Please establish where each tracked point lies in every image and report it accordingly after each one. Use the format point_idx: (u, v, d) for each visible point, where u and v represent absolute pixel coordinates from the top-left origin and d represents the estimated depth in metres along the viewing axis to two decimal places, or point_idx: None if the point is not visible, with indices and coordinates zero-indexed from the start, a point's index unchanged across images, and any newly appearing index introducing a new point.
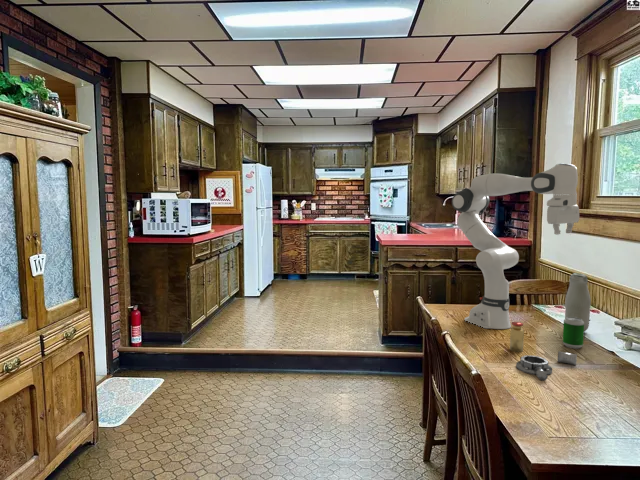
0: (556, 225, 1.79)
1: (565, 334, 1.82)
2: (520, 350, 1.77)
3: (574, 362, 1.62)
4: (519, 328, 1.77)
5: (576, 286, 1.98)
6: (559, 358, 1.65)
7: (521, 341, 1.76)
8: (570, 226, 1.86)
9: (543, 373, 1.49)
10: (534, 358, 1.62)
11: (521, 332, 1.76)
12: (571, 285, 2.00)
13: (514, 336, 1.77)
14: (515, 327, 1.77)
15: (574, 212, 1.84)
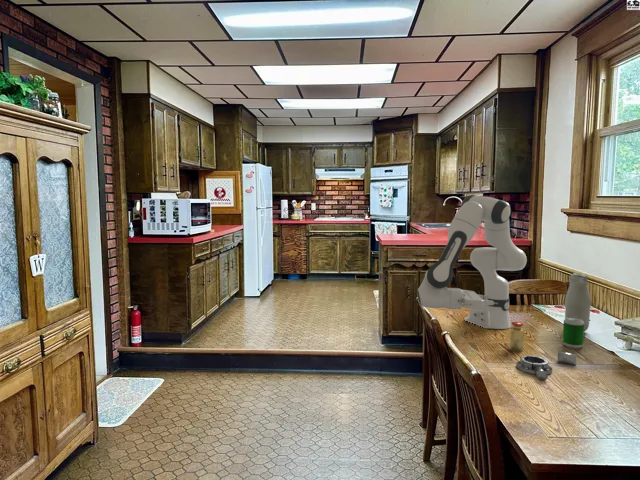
0: None
1: (565, 334, 1.82)
2: (520, 350, 1.77)
3: (574, 362, 1.62)
4: (519, 328, 1.77)
5: (576, 286, 1.98)
6: (559, 358, 1.65)
7: (521, 341, 1.76)
8: None
9: (543, 373, 1.49)
10: (534, 358, 1.62)
11: (521, 332, 1.76)
12: (571, 285, 2.00)
13: (514, 336, 1.77)
14: (515, 327, 1.77)
15: None
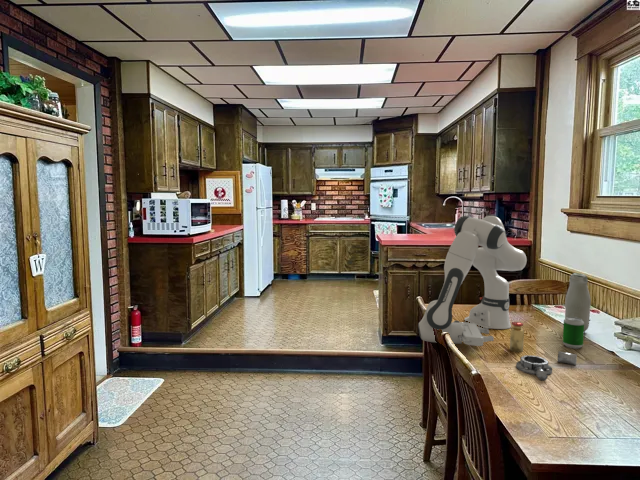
0: None
1: (565, 334, 1.82)
2: (520, 350, 1.77)
3: (574, 362, 1.62)
4: (519, 328, 1.77)
5: (576, 286, 1.98)
6: (559, 358, 1.65)
7: (521, 341, 1.76)
8: None
9: (543, 373, 1.49)
10: (534, 358, 1.62)
11: (521, 332, 1.76)
12: (571, 285, 2.00)
13: (514, 336, 1.77)
14: (515, 327, 1.77)
15: None
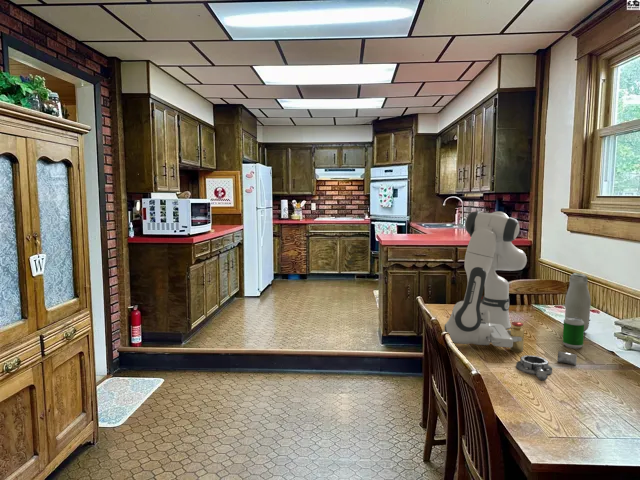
0: None
1: (565, 334, 1.82)
2: (520, 350, 1.77)
3: (574, 363, 1.62)
4: (519, 328, 1.77)
5: (576, 286, 1.98)
6: (559, 358, 1.65)
7: (521, 341, 1.76)
8: None
9: (543, 373, 1.49)
10: (534, 358, 1.62)
11: (521, 332, 1.76)
12: (571, 285, 2.00)
13: (514, 336, 1.77)
14: (515, 327, 1.77)
15: None
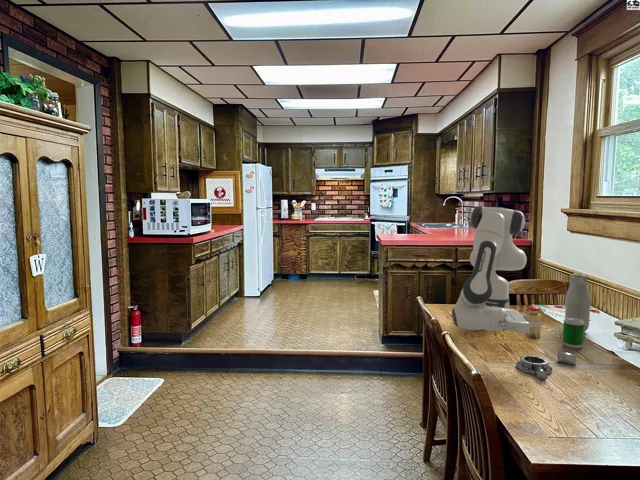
0: None
1: (565, 334, 1.82)
2: (537, 337, 1.58)
3: (574, 363, 1.62)
4: (536, 313, 1.58)
5: (576, 286, 1.98)
6: (559, 359, 1.65)
7: (538, 327, 1.58)
8: None
9: (543, 373, 1.49)
10: (534, 358, 1.62)
11: (538, 317, 1.57)
12: (571, 285, 2.00)
13: None
14: (531, 312, 1.59)
15: None
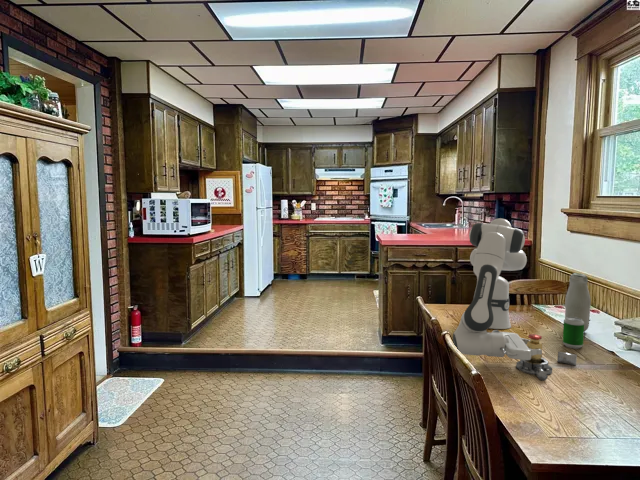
0: None
1: (565, 334, 1.82)
2: None
3: (574, 363, 1.62)
4: (537, 342, 1.57)
5: (576, 286, 1.98)
6: (559, 359, 1.64)
7: (539, 356, 1.57)
8: None
9: (543, 373, 1.49)
10: None
11: (539, 346, 1.56)
12: (571, 285, 2.00)
13: None
14: (532, 340, 1.58)
15: None
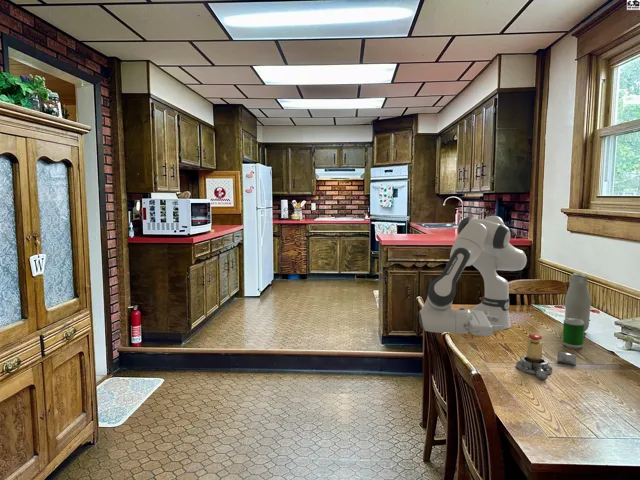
0: None
1: (565, 334, 1.82)
2: None
3: (574, 363, 1.62)
4: (537, 342, 1.57)
5: (576, 286, 1.98)
6: (559, 359, 1.64)
7: (539, 356, 1.57)
8: None
9: (543, 373, 1.49)
10: None
11: (539, 346, 1.56)
12: (571, 285, 2.00)
13: (531, 351, 1.57)
14: (532, 340, 1.58)
15: None
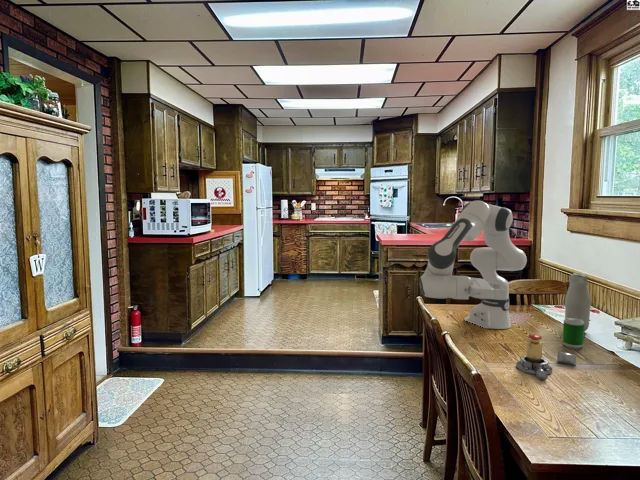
0: None
1: (565, 334, 1.82)
2: None
3: (574, 364, 1.62)
4: (537, 342, 1.57)
5: (576, 286, 1.98)
6: (559, 359, 1.64)
7: (539, 356, 1.57)
8: None
9: (543, 373, 1.49)
10: None
11: (539, 346, 1.56)
12: (571, 285, 2.00)
13: (531, 351, 1.57)
14: (532, 340, 1.58)
15: None
